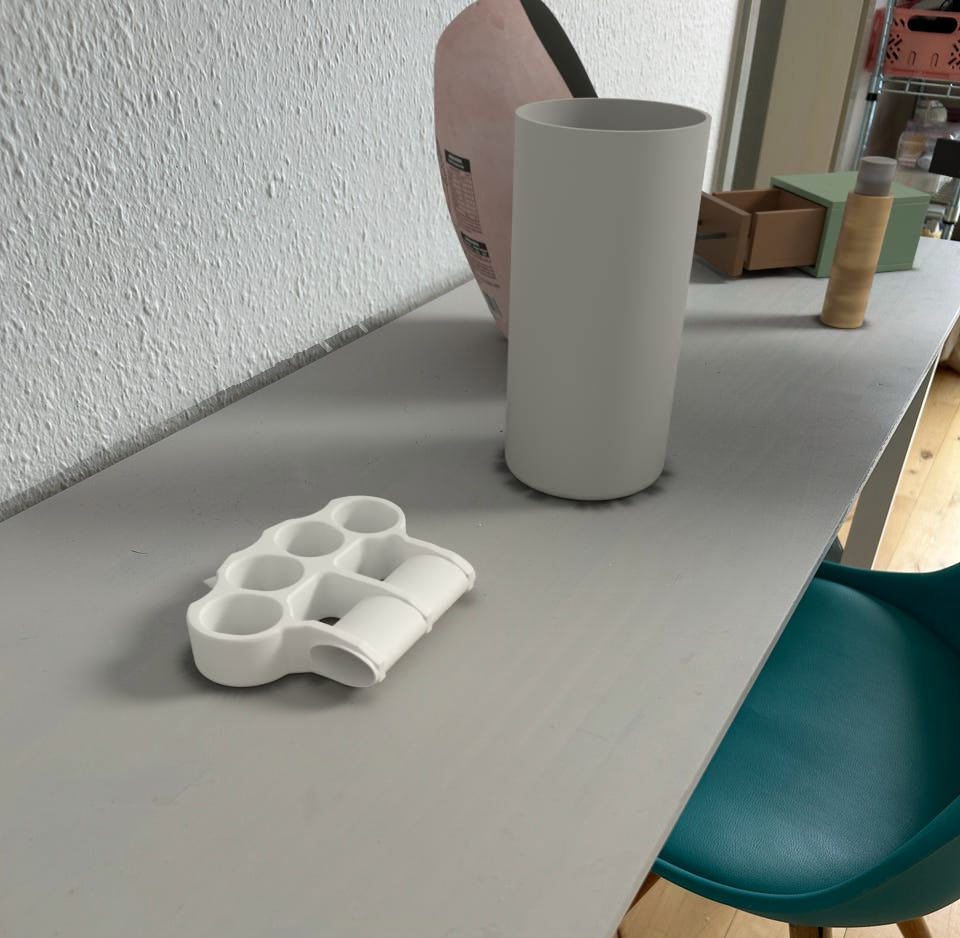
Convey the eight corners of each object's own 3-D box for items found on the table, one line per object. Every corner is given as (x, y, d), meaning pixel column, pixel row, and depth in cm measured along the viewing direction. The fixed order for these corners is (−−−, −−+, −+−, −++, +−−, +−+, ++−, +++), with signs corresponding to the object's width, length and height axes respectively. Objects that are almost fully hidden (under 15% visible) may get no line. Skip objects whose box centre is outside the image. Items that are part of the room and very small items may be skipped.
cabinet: (816, 277, 119) (833, 201, 114) (758, 247, 129) (771, 176, 124) (911, 269, 122) (931, 194, 117) (847, 239, 133) (863, 170, 127)
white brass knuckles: (345, 734, 53) (138, 653, 58) (498, 574, 65) (317, 520, 71) (340, 686, 51) (126, 607, 56) (499, 530, 63) (313, 478, 69)
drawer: (694, 279, 115) (703, 217, 111) (648, 250, 124) (655, 192, 120) (824, 268, 119) (837, 208, 115) (770, 240, 128) (780, 184, 124)
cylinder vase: (694, 485, 76) (752, 123, 61) (552, 518, 71) (577, 137, 56) (609, 422, 85) (641, 93, 70) (478, 448, 80) (483, 104, 65)
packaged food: (671, 388, 91) (724, 2, 73) (464, 405, 87) (466, 4, 69) (595, 310, 108) (623, -18, 90) (419, 322, 104) (411, -18, 86)
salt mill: (870, 326, 105) (912, 163, 96) (835, 330, 104) (873, 165, 95) (846, 313, 109) (884, 154, 99) (812, 316, 108) (846, 156, 98)
